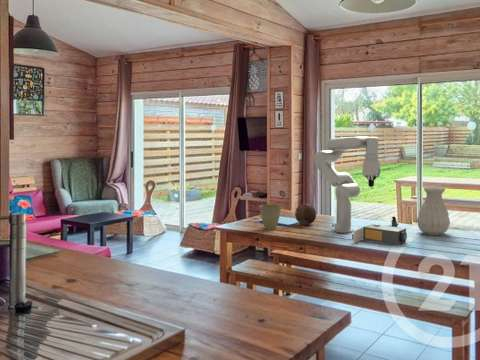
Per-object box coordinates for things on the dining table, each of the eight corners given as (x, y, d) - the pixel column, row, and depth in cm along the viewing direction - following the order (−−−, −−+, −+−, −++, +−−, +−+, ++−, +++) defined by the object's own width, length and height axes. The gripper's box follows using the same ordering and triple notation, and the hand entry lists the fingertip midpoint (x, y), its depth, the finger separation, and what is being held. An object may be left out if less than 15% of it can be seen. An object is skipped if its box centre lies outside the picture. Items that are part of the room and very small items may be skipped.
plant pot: (264, 226, 343) (264, 203, 342) (284, 228, 336) (284, 205, 335) (255, 230, 330) (255, 206, 329) (275, 232, 323) (275, 208, 322)
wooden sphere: (317, 223, 353) (317, 202, 352) (314, 227, 339) (314, 205, 337) (296, 222, 357) (296, 202, 356) (293, 226, 343) (293, 205, 341)
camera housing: (362, 239, 300) (363, 225, 299) (372, 236, 309) (372, 222, 308) (400, 245, 284) (400, 230, 283) (409, 242, 292) (409, 227, 291)
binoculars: (381, 217, 323) (397, 216, 321) (382, 232, 324) (398, 231, 322) (382, 219, 314) (398, 218, 312) (383, 235, 315) (400, 234, 313)
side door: (360, 238, 301) (360, 226, 300) (362, 238, 300) (363, 227, 299) (351, 243, 289) (351, 230, 288) (354, 243, 288) (354, 231, 287)
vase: (432, 238, 304) (433, 190, 301) (409, 231, 322) (411, 186, 319) (456, 235, 311) (458, 188, 308) (433, 229, 330) (435, 185, 327)
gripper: (357, 156, 304) (357, 186, 306) (380, 157, 294) (379, 188, 296) (363, 156, 309) (363, 185, 311) (385, 157, 299) (385, 186, 301)
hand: (371, 186), depth 303 cm, fingers closed
